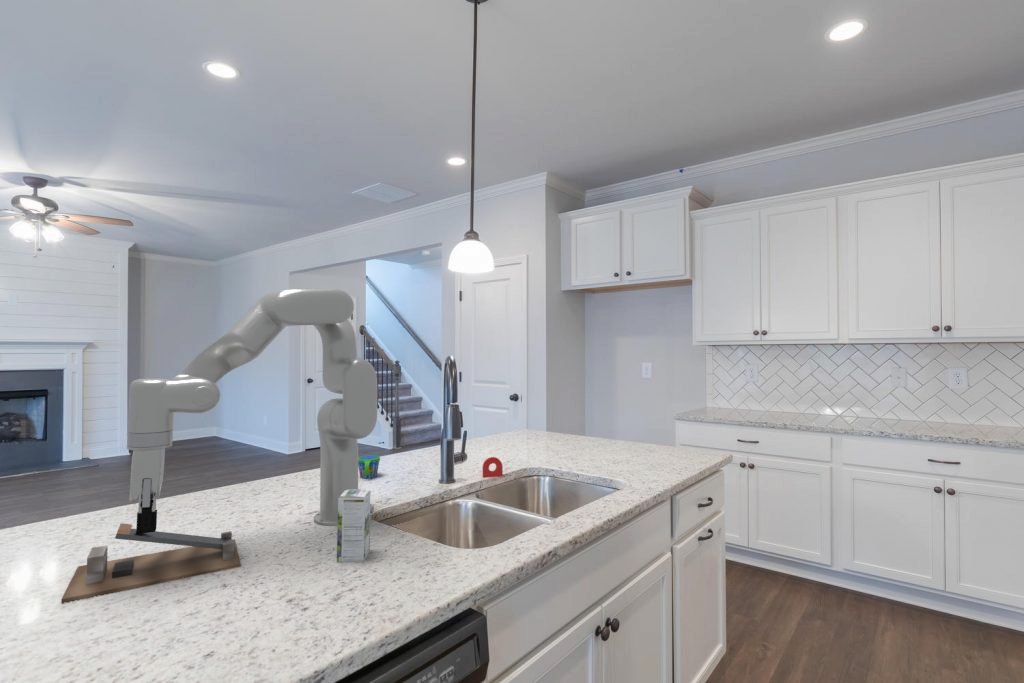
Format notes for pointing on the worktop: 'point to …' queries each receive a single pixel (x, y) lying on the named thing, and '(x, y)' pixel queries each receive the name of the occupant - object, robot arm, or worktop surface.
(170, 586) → the worktop surface
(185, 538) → the strap
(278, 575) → the worktop surface
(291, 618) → the worktop surface
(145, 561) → the latch board
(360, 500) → the syrup box
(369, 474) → the snack cup
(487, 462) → the bracket
